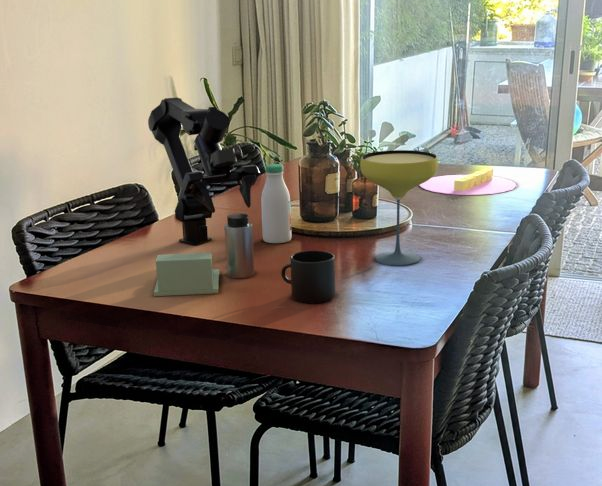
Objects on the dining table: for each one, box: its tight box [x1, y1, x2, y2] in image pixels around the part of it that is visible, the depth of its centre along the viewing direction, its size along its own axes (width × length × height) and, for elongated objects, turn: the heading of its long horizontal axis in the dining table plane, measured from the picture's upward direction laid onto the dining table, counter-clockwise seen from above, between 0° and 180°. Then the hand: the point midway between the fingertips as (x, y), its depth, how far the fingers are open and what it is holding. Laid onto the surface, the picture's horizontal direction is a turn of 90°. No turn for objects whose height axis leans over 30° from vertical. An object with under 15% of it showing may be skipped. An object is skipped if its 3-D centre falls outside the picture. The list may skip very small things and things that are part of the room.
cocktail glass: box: [359, 149, 439, 267], centre depth 206 cm, size 18×18×25 cm
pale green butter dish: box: [153, 252, 220, 297], centre depth 196 cm, size 15×14×8 cm
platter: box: [419, 168, 517, 196], centre depth 289 cm, size 32×32×3 cm
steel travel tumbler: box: [223, 213, 255, 279], centre depth 201 cm, size 6×6×14 cm
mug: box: [280, 249, 336, 304], centre depth 186 cm, size 9×12×9 cm
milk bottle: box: [260, 163, 292, 244], centre depth 227 cm, size 8×8×20 cm
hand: (231, 209), depth 205 cm, fingers open, 9 cm apart
